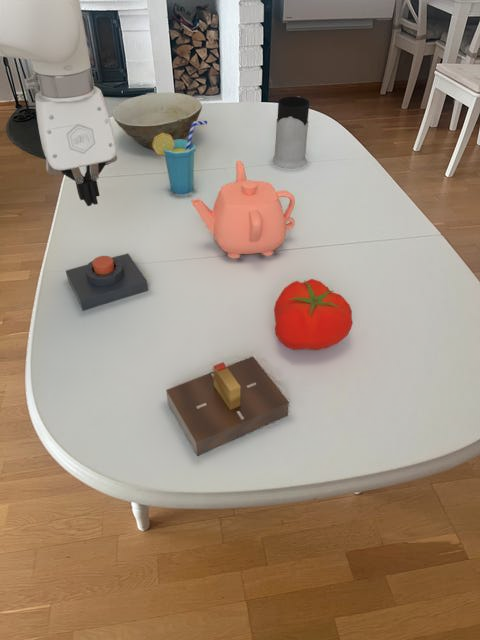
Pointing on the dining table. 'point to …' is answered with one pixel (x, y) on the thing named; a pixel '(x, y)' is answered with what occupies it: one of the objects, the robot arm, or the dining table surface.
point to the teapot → (247, 216)
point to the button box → (106, 282)
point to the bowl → (157, 116)
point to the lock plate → (214, 415)
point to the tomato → (311, 316)
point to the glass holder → (291, 132)
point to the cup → (178, 159)
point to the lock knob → (226, 386)
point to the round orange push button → (103, 265)
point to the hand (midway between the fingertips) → (90, 201)
